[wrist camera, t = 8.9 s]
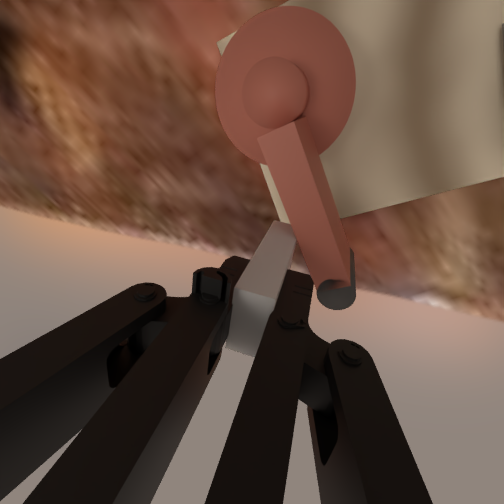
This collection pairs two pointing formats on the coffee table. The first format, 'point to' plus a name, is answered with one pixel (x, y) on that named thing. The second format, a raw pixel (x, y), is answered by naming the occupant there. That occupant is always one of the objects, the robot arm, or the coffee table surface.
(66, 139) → the coffee table surface
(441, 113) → the plate
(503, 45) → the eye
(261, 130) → the door handle
